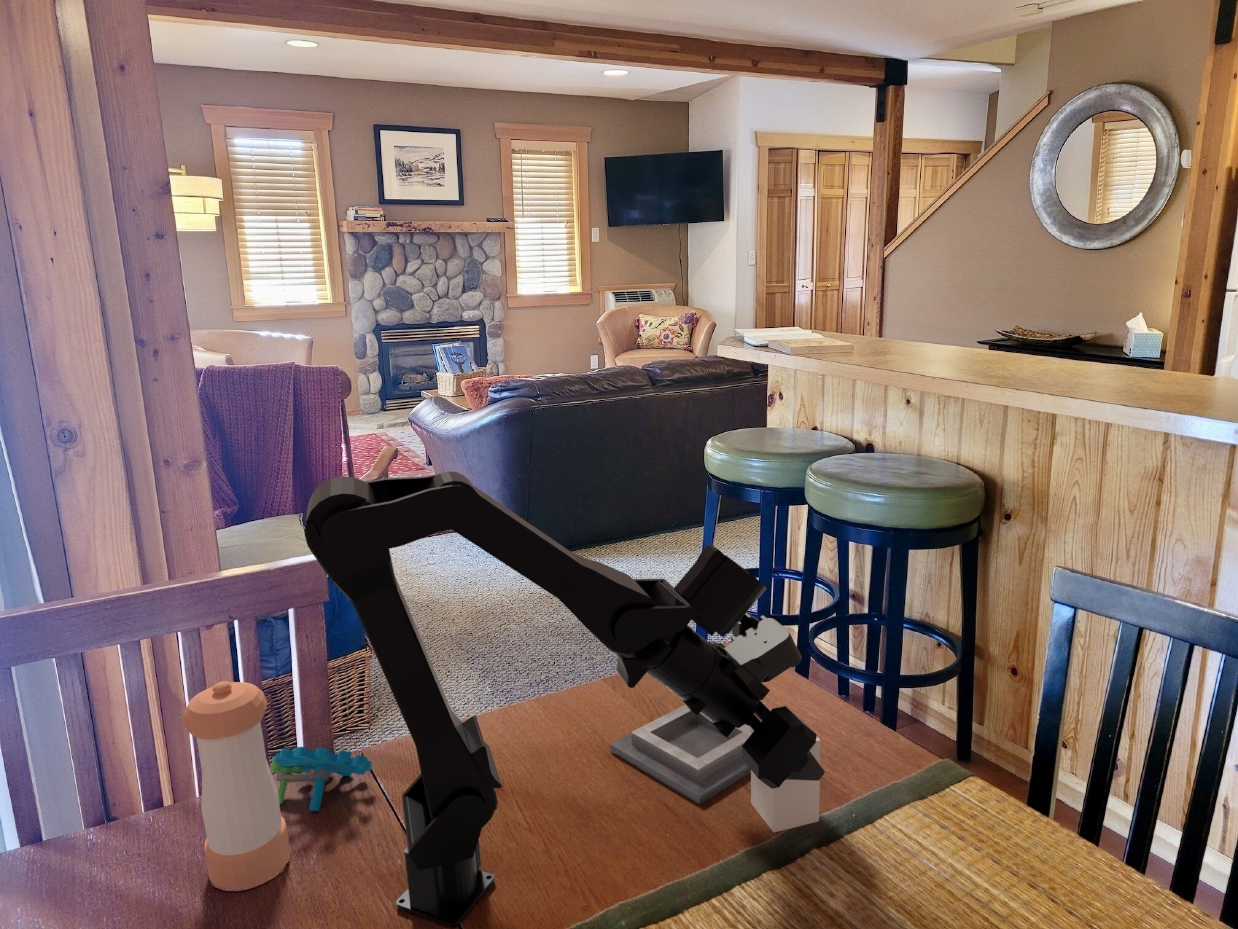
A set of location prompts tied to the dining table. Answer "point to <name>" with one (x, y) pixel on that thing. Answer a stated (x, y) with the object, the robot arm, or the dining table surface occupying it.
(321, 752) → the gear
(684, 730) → the locating plate
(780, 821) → the square block
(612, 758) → the dining table surface
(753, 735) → the robot arm
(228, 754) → the pepper shaker
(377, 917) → the dining table surface
